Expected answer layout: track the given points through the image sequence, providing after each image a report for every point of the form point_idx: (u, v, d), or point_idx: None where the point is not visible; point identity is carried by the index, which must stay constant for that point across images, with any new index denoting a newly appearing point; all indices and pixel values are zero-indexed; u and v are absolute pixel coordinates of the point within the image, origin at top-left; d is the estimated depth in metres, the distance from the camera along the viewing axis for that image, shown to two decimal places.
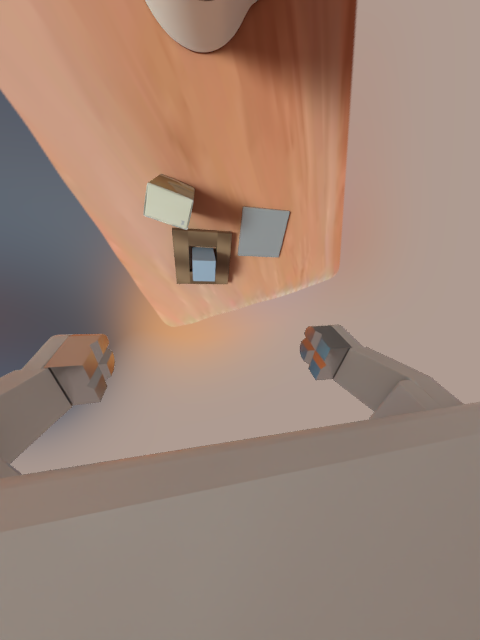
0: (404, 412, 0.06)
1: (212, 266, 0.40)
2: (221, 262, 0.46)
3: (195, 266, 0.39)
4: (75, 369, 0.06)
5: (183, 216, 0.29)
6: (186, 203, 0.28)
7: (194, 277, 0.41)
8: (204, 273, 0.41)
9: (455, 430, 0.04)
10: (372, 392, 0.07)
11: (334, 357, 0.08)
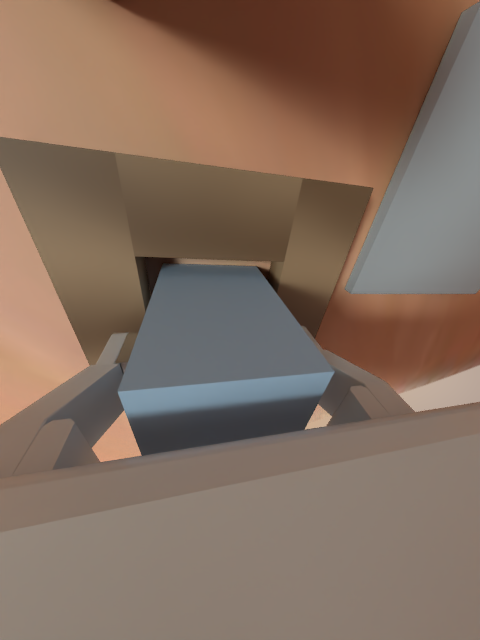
0: (354, 420, 0.06)
1: (300, 405, 0.05)
2: None
3: (163, 424, 0.04)
4: None
5: None
6: None
7: None
8: None
9: (455, 430, 0.04)
10: (330, 397, 0.07)
11: None
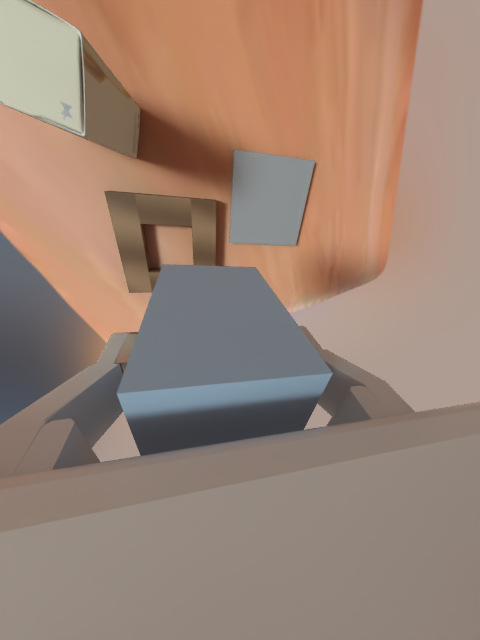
0: (353, 420, 0.06)
1: (298, 406, 0.05)
2: (201, 254, 0.27)
3: (162, 426, 0.04)
4: None
5: (63, 88, 0.11)
6: (61, 39, 0.10)
7: None
8: None
9: (455, 430, 0.04)
10: (330, 397, 0.07)
11: None
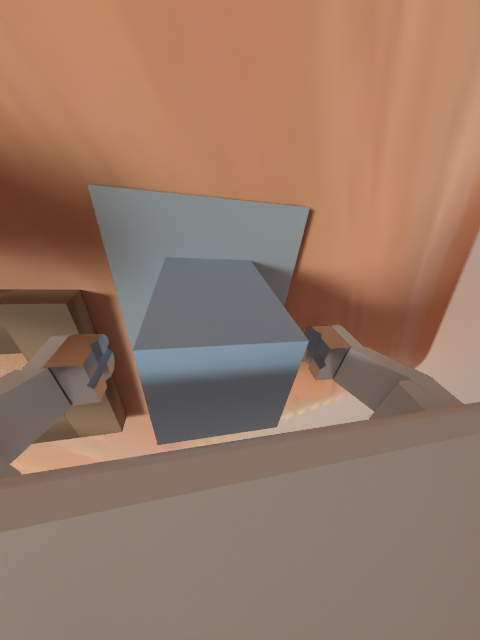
0: (404, 412, 0.06)
1: (282, 372, 0.06)
2: None
3: (167, 384, 0.05)
4: (74, 369, 0.06)
5: None
6: None
7: (164, 431, 0.07)
8: (226, 408, 0.07)
9: (455, 430, 0.04)
10: (372, 392, 0.07)
11: (334, 357, 0.08)
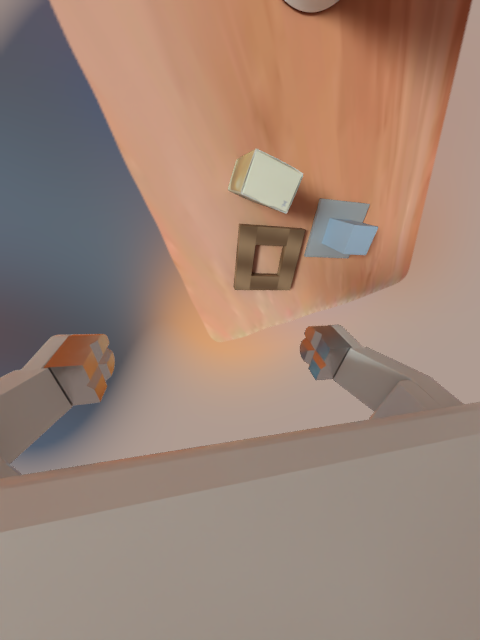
0: (404, 412, 0.06)
1: (372, 234, 0.33)
2: (287, 264, 0.39)
3: (354, 234, 0.32)
4: (75, 368, 0.06)
5: (287, 195, 0.23)
6: (294, 177, 0.22)
7: (347, 249, 0.33)
8: (359, 244, 0.33)
9: (455, 430, 0.04)
10: (372, 392, 0.07)
11: (334, 357, 0.08)
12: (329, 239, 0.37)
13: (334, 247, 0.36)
